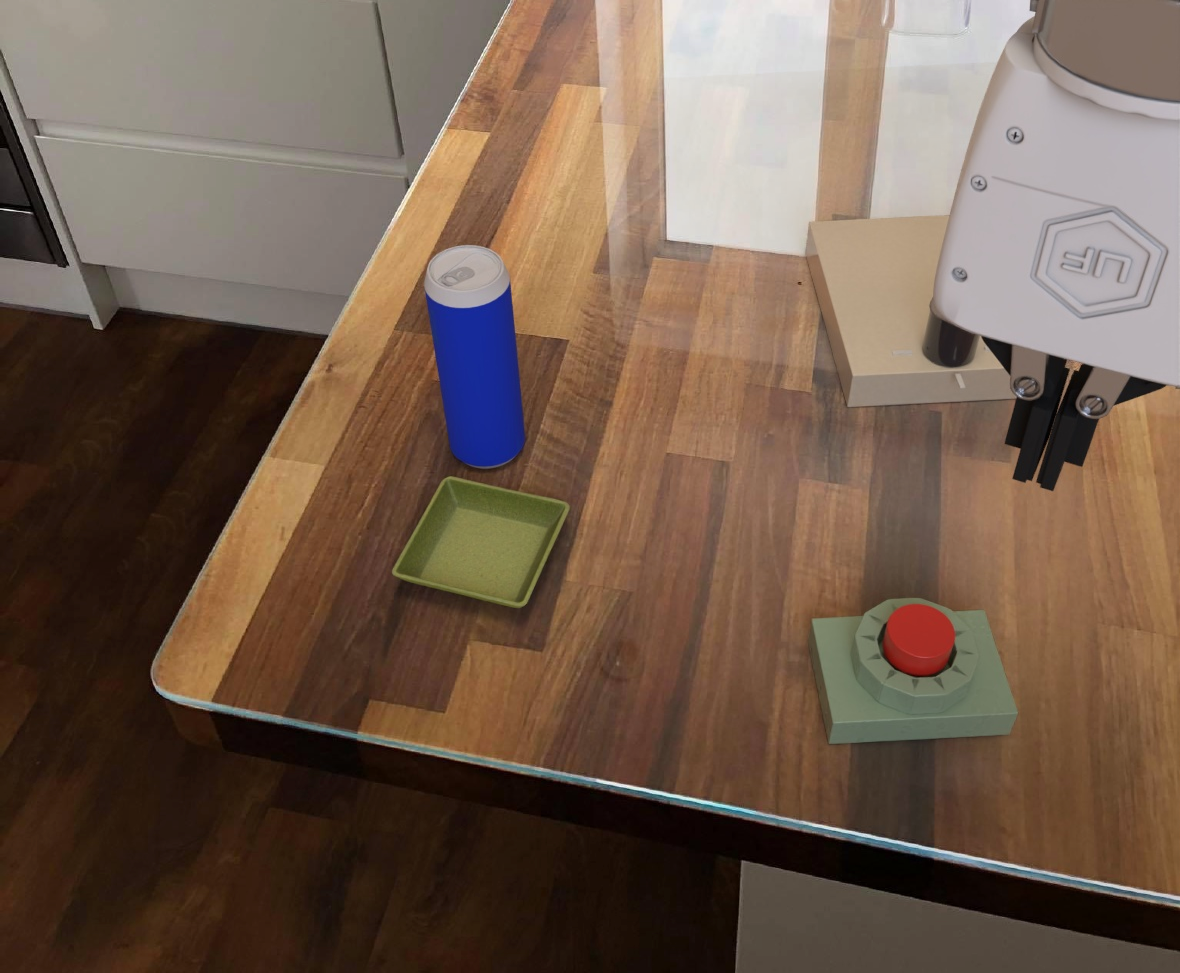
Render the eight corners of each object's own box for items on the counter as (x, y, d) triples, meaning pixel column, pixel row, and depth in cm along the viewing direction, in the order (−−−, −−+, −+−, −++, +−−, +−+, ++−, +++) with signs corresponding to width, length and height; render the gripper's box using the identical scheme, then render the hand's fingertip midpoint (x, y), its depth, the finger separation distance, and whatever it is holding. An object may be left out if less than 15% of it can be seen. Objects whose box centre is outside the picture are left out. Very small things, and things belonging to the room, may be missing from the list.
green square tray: (448, 495, 81) (445, 473, 79) (573, 523, 79) (572, 501, 77) (393, 595, 75) (389, 574, 73) (527, 628, 73) (524, 607, 71)
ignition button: (940, 620, 68) (946, 601, 67) (956, 674, 66) (962, 655, 64) (876, 624, 68) (880, 604, 67) (889, 678, 66) (894, 659, 64)
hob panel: (979, 244, 98) (988, 210, 95) (1055, 416, 84) (1067, 382, 82) (805, 252, 97) (809, 219, 95) (852, 426, 84) (858, 392, 82)
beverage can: (491, 409, 86) (470, 231, 75) (541, 445, 83) (526, 266, 73) (434, 446, 84) (404, 268, 73) (484, 484, 81) (460, 306, 70)
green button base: (976, 631, 72) (991, 589, 69) (1009, 734, 67) (1026, 694, 64) (807, 640, 72) (814, 598, 69) (828, 744, 67) (836, 704, 64)
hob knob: (968, 373, 83) (983, 317, 79) (916, 359, 84) (928, 304, 80) (980, 341, 85) (995, 286, 81) (929, 328, 86) (941, 273, 83)
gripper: (885, 21, 36) (828, 466, 49) (1467, 124, 30) (1227, 593, 43) (960, -74, 40) (889, 356, 53) (1478, 1, 35) (1258, 460, 48)
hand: (1041, 462), depth 48 cm, fingers closed
